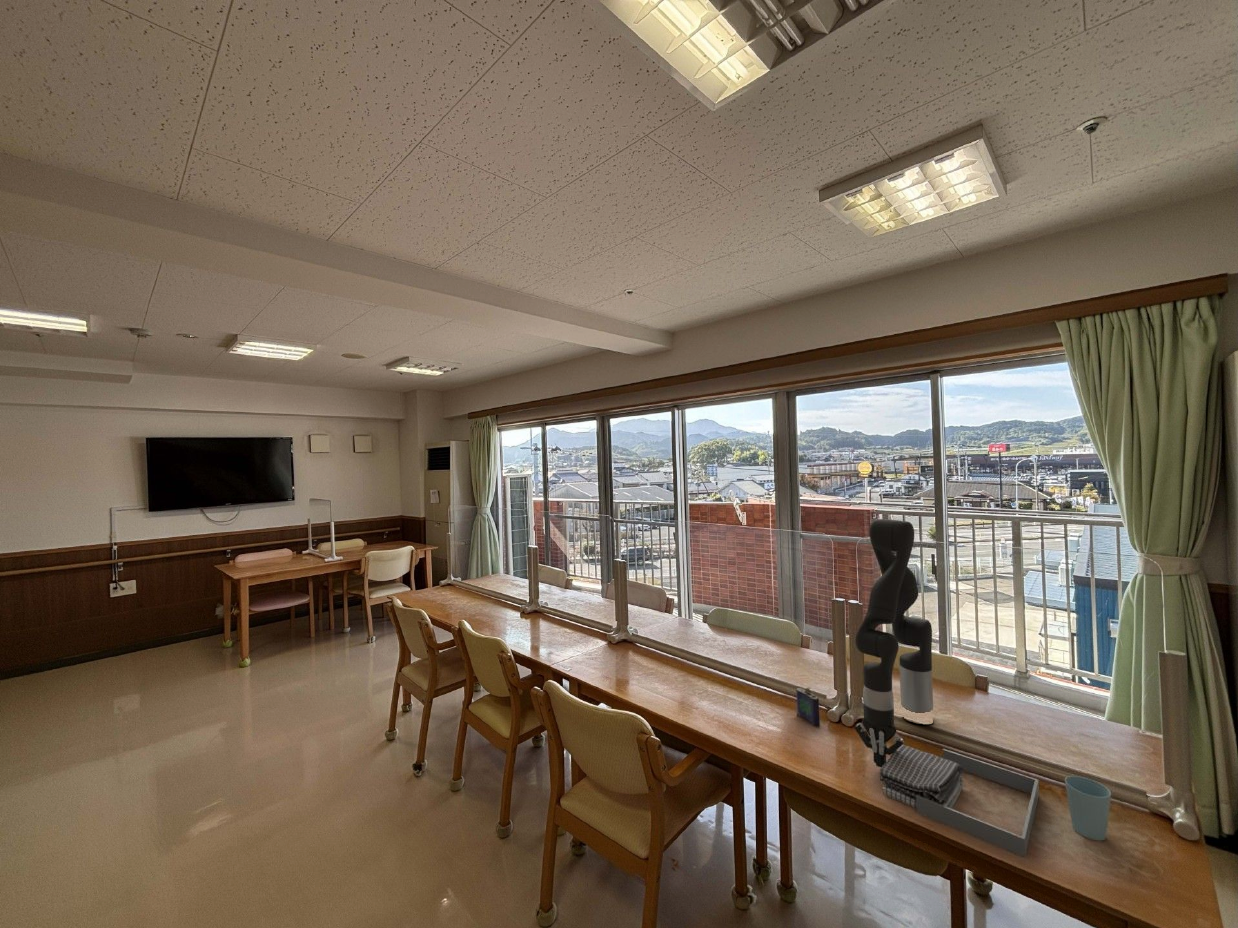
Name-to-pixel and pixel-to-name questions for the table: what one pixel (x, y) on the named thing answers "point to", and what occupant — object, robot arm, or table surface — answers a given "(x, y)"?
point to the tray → (977, 826)
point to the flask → (808, 706)
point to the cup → (1088, 806)
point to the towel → (921, 777)
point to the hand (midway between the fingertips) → (880, 765)
